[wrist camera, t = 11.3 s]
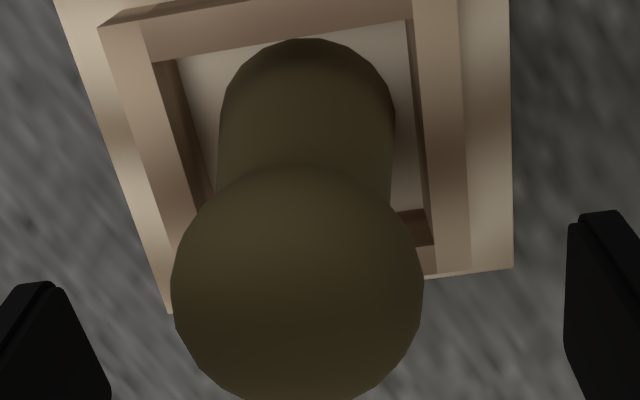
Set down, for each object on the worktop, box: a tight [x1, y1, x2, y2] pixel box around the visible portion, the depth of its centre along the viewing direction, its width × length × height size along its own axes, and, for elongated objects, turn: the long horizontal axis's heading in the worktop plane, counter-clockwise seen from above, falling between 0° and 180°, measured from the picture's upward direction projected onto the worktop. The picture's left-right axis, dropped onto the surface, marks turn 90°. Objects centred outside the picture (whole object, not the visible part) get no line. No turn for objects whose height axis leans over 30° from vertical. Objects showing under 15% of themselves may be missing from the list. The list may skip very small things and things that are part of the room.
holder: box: [53, 0, 514, 314], centre depth 20 cm, size 14×14×4 cm
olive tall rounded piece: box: [170, 38, 424, 400], centre depth 16 cm, size 6×6×11 cm
